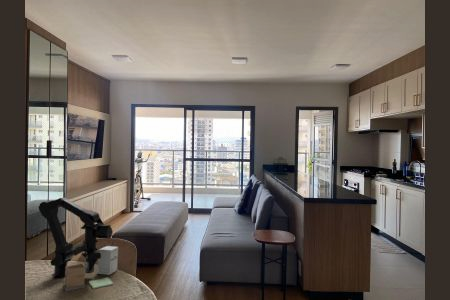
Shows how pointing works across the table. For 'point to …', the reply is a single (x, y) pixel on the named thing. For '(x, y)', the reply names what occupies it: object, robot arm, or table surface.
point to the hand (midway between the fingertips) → (89, 269)
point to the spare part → (88, 268)
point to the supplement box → (108, 260)
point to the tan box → (74, 277)
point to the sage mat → (100, 283)
